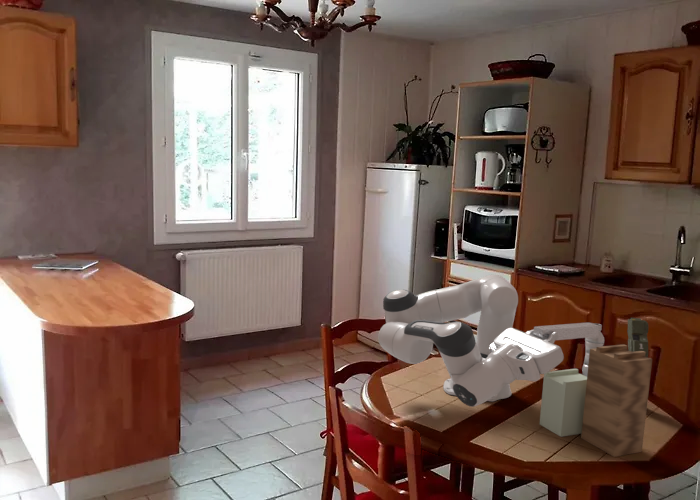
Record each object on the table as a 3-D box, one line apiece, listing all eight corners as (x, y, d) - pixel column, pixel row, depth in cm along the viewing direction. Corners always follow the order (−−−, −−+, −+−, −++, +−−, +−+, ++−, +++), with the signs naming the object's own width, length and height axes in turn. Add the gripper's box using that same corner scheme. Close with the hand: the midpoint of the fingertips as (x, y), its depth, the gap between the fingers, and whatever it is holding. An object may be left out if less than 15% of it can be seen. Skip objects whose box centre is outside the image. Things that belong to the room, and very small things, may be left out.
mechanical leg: (651, 416, 193) (655, 318, 196) (626, 413, 194) (630, 316, 198) (639, 410, 207) (643, 319, 210) (615, 407, 208) (620, 317, 211)
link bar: (542, 341, 160) (543, 330, 160) (533, 337, 164) (534, 326, 163) (597, 336, 168) (599, 325, 168) (588, 333, 171) (589, 322, 171)
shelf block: (560, 436, 177) (565, 382, 175) (539, 424, 185) (544, 372, 183) (593, 431, 182) (598, 378, 180) (571, 419, 190) (576, 368, 188)
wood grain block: (614, 456, 166) (624, 357, 162) (581, 438, 177) (590, 344, 173) (641, 451, 170) (652, 354, 166) (607, 433, 181) (617, 342, 177)
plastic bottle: (599, 381, 226) (604, 327, 224) (579, 377, 230) (584, 324, 227) (602, 377, 232) (607, 324, 229) (583, 373, 235) (588, 321, 233)
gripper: (489, 358, 170) (527, 330, 174) (541, 383, 151) (581, 352, 155) (481, 339, 168) (519, 312, 172) (532, 363, 149) (574, 331, 153)
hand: (549, 331), depth 163 cm, fingers closed on link bar, 3 cm apart
